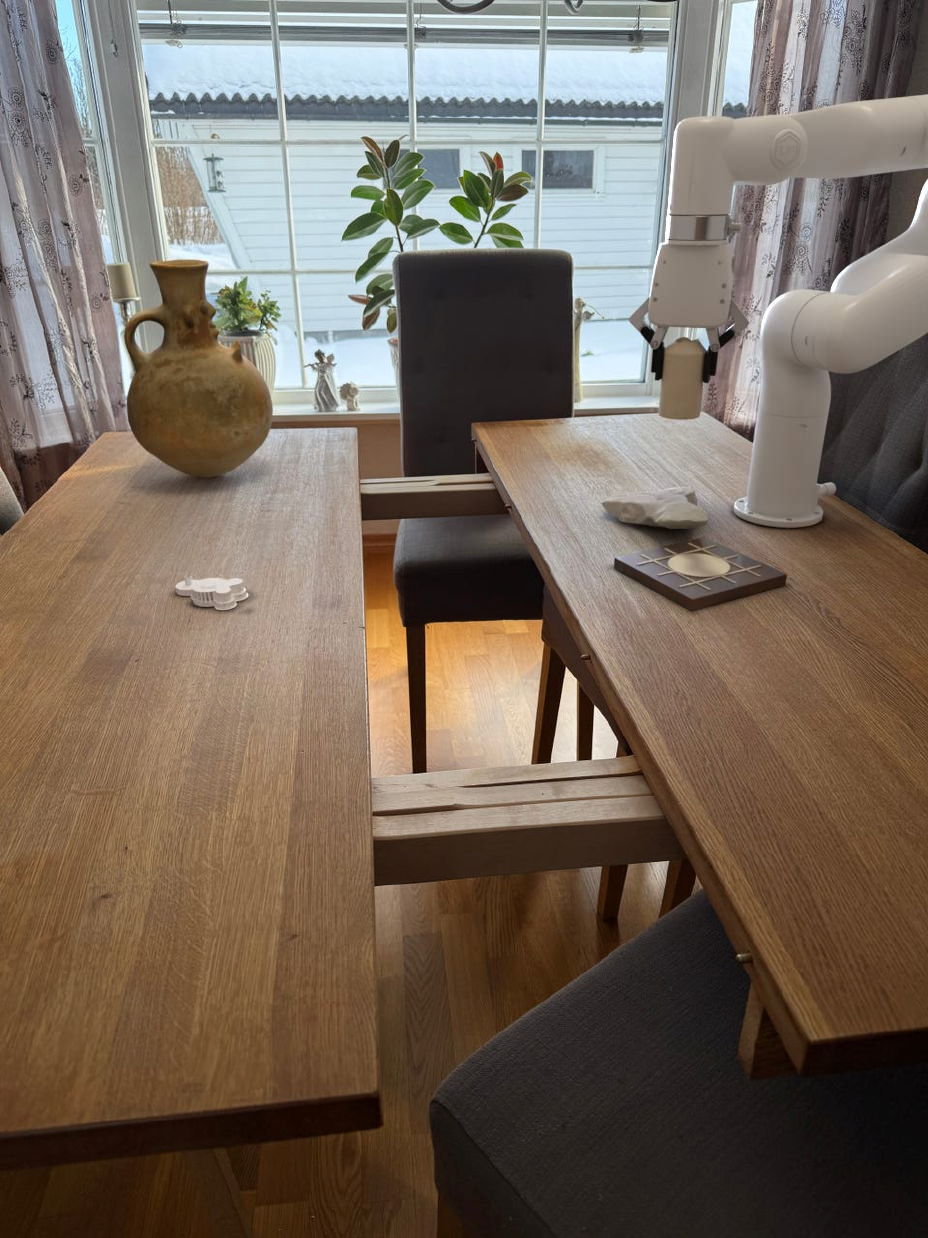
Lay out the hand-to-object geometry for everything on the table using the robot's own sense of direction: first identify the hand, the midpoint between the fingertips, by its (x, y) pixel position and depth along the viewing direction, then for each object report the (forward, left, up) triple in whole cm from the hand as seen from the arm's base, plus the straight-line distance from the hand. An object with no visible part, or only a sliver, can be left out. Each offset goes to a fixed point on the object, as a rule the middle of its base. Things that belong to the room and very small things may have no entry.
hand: (682, 378), depth 117 cm
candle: (0, 0, -5) cm, 5 cm away
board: (+7, +15, -21) cm, 27 cm away
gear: (+62, -9, -22) cm, 67 cm away
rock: (-1, -4, -22) cm, 22 cm away
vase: (+50, -62, -22) cm, 83 cm away
